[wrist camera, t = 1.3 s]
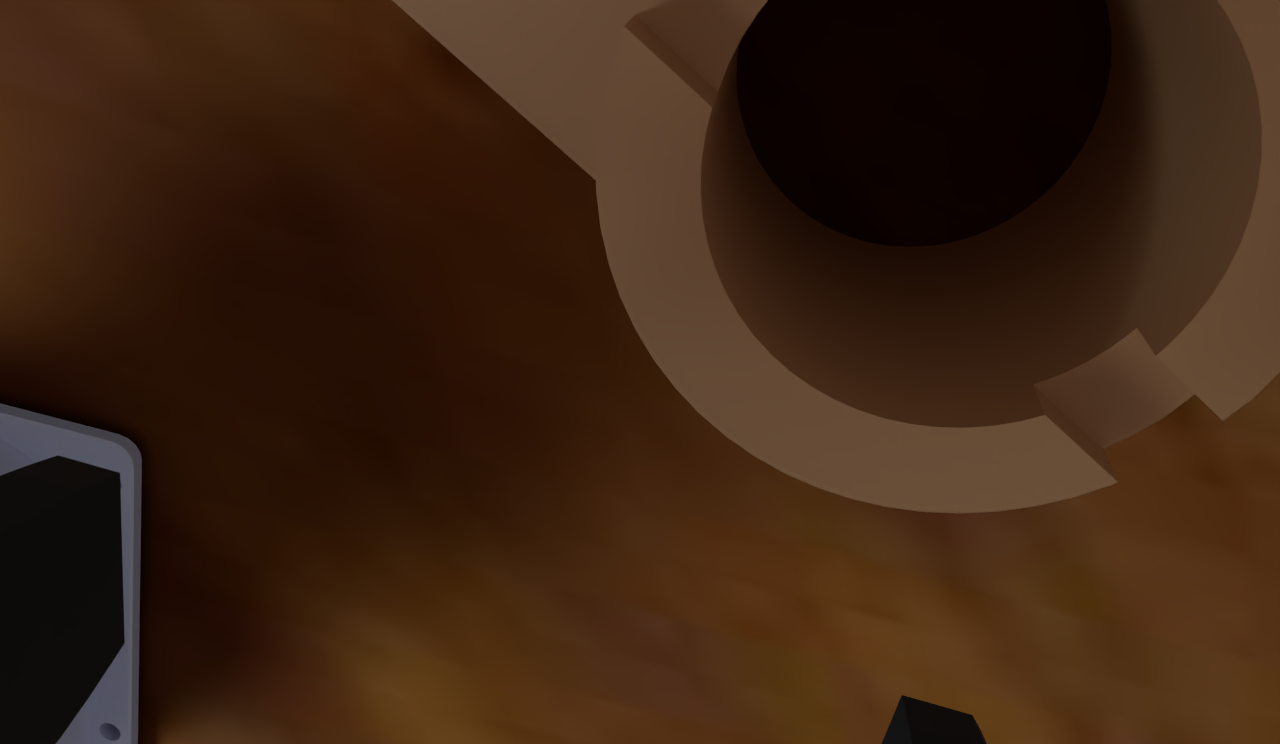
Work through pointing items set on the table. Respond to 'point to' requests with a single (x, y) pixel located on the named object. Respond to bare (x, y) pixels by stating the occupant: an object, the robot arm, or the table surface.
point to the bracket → (921, 253)
